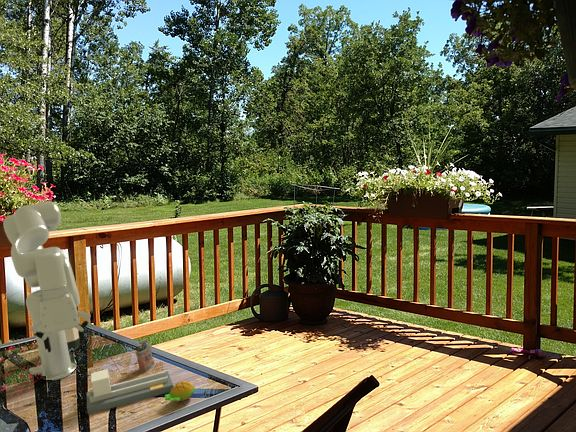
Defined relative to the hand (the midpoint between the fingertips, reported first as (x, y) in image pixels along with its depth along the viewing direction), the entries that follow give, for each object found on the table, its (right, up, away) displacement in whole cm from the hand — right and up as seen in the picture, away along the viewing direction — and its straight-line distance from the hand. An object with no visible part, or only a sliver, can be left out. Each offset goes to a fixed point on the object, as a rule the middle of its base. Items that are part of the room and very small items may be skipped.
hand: (66, 346), depth 167 cm
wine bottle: (-21, -14, +56) cm, 62 cm away
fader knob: (+10, -16, +5) cm, 20 cm away
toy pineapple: (+35, -17, 0) cm, 39 cm away
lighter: (+18, -14, +28) cm, 36 cm away
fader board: (+17, -17, +8) cm, 26 cm away
